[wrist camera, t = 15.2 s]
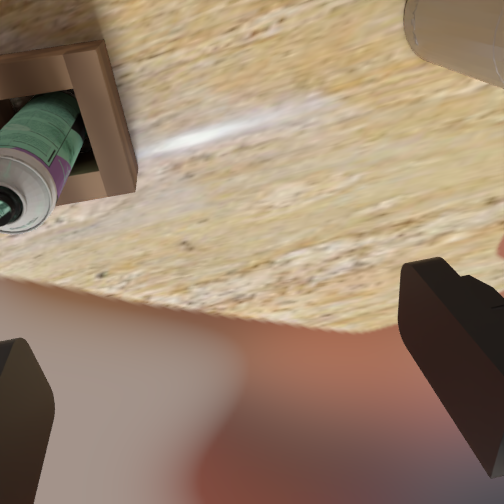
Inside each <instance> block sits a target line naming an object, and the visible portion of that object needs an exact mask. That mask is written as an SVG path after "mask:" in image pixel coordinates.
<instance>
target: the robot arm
mask: <svg viewBox="0 0 504 504" xmlns="http://www.w3.org/2000/svg"><path fill="white" fill-rule="evenodd" d="M404 31H405V35H406V39H407V41H408V43H409V45H410V47H411V49H412V50H413V51H414V52H415V54H416V55H417V56H419V57H420V58H422V59H423V60H426V61H428V62H431V63H434V64H436V65H439V66H442V67H445V68H447V69H450V70H452V71H455V72H458V73H461V74H464V75H466V76H469V77H472V78H475V79H478V80H480V81H483V82H486V83H489V84H492V85H494V86H497V87H500V88H503V89H504V0H408V1H407V4H406V7H405V14H404ZM398 326H399V331H400V334H401V337H402V340H403V342H404V344H405V346H406V347H407V349H408V351H409V352H410V354H411V355H412V357H413V359H414V360H415V362H416V363H417V365H418V366H419V368H420V369H421V371H422V372H423V374H424V376H425V377H426V379H427V380H428V382H429V384H430V385H431V387H432V388H433V390H434V391H435V393H436V394H437V396H438V397H439V399H440V401H441V402H442V404H443V405H444V407H445V408H446V410H447V412H448V413H449V415H450V416H451V418H452V419H453V421H454V422H455V424H456V426H457V427H458V429H459V430H460V432H461V433H462V435H463V436H464V438H465V440H466V441H467V443H468V444H469V446H470V447H471V449H472V450H473V452H474V454H475V455H476V457H477V458H478V460H479V461H480V463H481V465H482V466H483V468H484V469H485V471H486V472H487V474H488V476H489V477H490V478H491V479H492V478H496V477H501V476H504V298H503V297H502V296H501V295H500V294H499V293H498V292H497V291H496V290H495V289H494V288H493V287H491V286H489V285H487V284H485V283H483V282H482V281H480V280H478V279H476V278H474V277H472V276H470V275H466V276H461V277H460V276H459V275H458V274H457V273H456V271H455V270H454V269H453V268H452V267H451V266H450V265H449V264H448V263H447V262H446V261H445V260H444V259H442V258H441V257H435V258H430V259H425V260H419V261H414V262H409V263H405V264H404V265H403V266H402V269H401V276H400V291H399V306H398ZM54 414H55V403H54V397H53V393H52V390H51V387H50V385H49V383H48V382H47V379H46V377H45V375H44V373H43V371H42V369H41V367H40V365H39V363H38V362H37V360H36V358H35V356H34V354H33V352H32V350H31V348H30V346H29V344H28V343H27V341H26V340H25V339H23V338H16V339H11V340H6V341H1V342H0V504H34V499H35V495H36V491H37V487H38V483H39V479H40V474H41V470H42V466H43V461H44V458H45V454H46V449H47V445H48V441H49V437H50V432H51V429H52V424H53V420H54Z"/></svg>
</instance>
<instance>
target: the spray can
mask: <svg viewBox="0 0 504 504" xmlns="http://www.w3.org/2000/svg"><path fill="white" fill-rule="evenodd" d="M86 136H87V130H86V127H85V124H84V121H83V118H82V115H81V111H80V108H79V105H78V102H77V99H76V96H75V95H73V94H72V93H70V92H68V91H65V90H61V91H55V92H48V93H42V94H36V95H35V96H34V97H33V98H32V99H31V100H30V101H29V102H28V103H27V104H26V105H25V106H24V107H23V108H22V109H21V110H20V111H19V112H18V113H17V114H16V115H15V116H14V117H13V118H12V119H11V120H10V121H9V122H8V123H7V124H6V125H5V126H4V127H3V128H2V129H1V130H0V233H3V234H23V233H27V232H30V231H32V230H35V229H36V228H38V227H39V226H41V225H42V224H43V223H44V222H45V221H46V219H47V218H48V217H49V216H50V215H51V213H52V211H53V209H54V207H55V205H56V203H57V201H58V198H59V196H60V194H61V192H62V190H63V187H64V185H65V183H66V181H67V178H68V176H69V174H70V172H71V169H72V167H73V165H74V163H75V161H76V158H77V156H78V154H79V152H80V149H81V147H82V145H83V143H84V140H85V138H86Z"/></svg>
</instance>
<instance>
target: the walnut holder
mask: <svg viewBox="0 0 504 504" xmlns="http://www.w3.org/2000/svg"><path fill="white" fill-rule="evenodd" d="M67 89H74V92H75V96H76V99H77V102H78V105H79V108H80V111H81V115H82V118H83V121H84V124H85V127H86V130H87V134H88V137H89V140H90V143H91V146H92V150H93V151H88V152H82V153H79V154H78V156H77V158H76V161H75V163H74V165H73V167H72V169H71V172H70V174H69V176H68V178H67V181H66V183H65V185H64V187H63V190H62V192H61V194H60V196H59V198H58V201H57V203H56V205H55V206H59V205H65V204H70V203H76V202H82V201H87V200H93V199H99V198H104V197H110V196H116V195H122V194H127V193H133V192H135V190H136V182H137V174H138V165H137V162H136V158H135V154H134V150H133V146H132V143H131V139H130V135H129V131H128V128H127V124H126V120H125V116H124V113H123V109H122V105H121V101H120V98H119V94H118V90H117V86H116V83H115V79H114V75H113V71H112V68H111V64H110V60H109V56H108V53H107V49H106V45H105V41H104V40H97V41H90V42H84V43H77V44H71V45H64V46H57V47H51V48H44V49H37V50H31V51H24V52H17V53H11V54H4V55H0V130H1V129H2V128H3V127H4V126H5V125H6V124H7V123H8V122H9V121H10V120H11V119H12V118H13V117H14V116H15V115H16V114H15V112H14V109H13V107H12V104H11V102H10V98H16V97H23V96H29V95H36V94H42V93H48V92H55V91H61V90H67Z"/></svg>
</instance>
